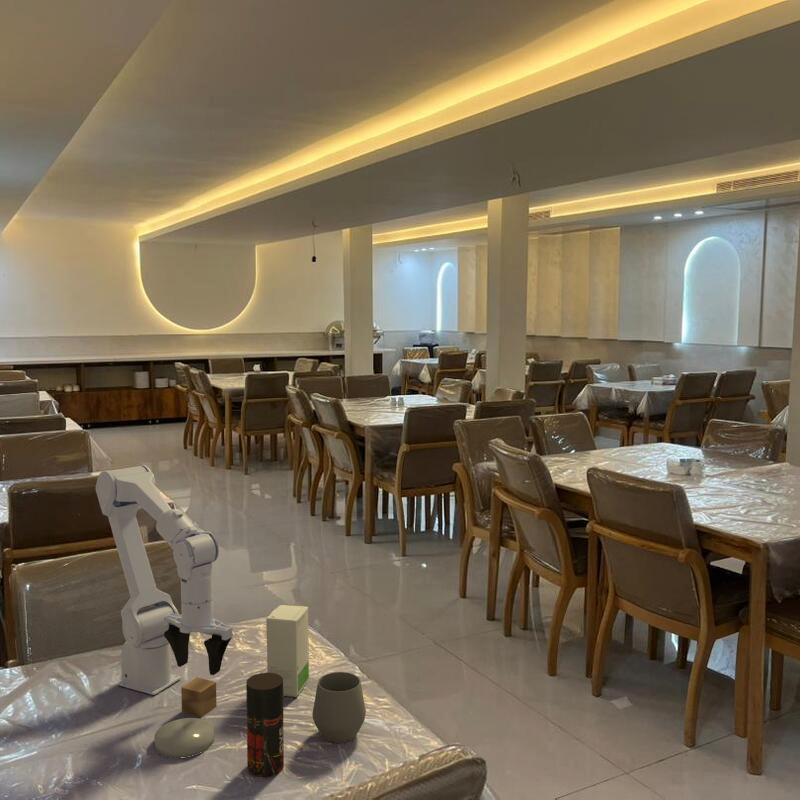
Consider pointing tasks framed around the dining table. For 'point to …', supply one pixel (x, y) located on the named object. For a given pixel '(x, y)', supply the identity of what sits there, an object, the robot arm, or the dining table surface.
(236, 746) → the dining table surface
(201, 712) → the walnut block
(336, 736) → the cup
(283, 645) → the skincare box
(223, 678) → the dining table surface
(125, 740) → the dining table surface
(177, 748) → the khaki round plate
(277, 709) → the deodorant
